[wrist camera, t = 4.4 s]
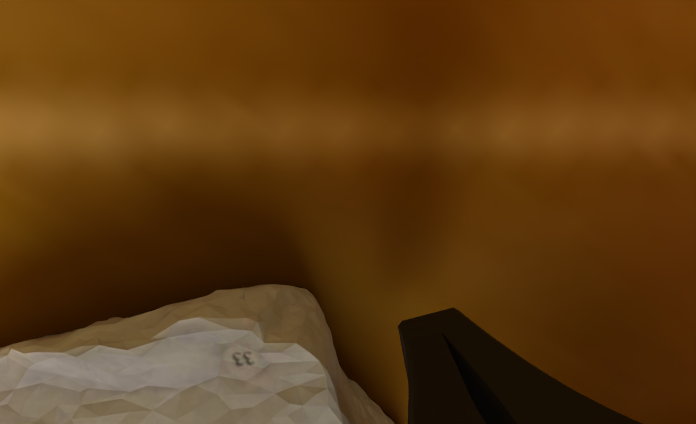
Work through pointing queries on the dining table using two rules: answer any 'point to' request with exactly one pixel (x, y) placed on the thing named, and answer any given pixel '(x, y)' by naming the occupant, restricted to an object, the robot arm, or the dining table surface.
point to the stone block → (189, 367)
